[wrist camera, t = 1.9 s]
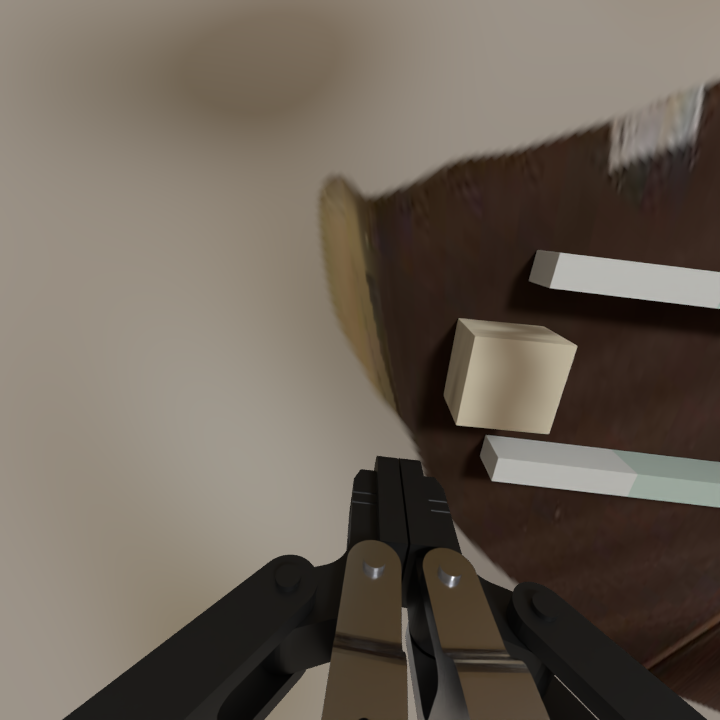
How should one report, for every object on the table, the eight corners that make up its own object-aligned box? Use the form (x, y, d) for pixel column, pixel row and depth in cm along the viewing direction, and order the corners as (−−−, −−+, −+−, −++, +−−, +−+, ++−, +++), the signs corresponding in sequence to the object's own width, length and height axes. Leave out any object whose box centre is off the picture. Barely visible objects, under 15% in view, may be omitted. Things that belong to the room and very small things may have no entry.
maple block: (542, 325, 25) (577, 345, 21) (521, 401, 27) (549, 434, 23) (457, 317, 25) (475, 336, 21) (442, 394, 27) (456, 425, 23)
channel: (869, 290, 23) (938, 299, 20) (748, 487, 29) (788, 515, 26) (537, 250, 23) (560, 252, 20) (479, 455, 29) (491, 480, 26)
